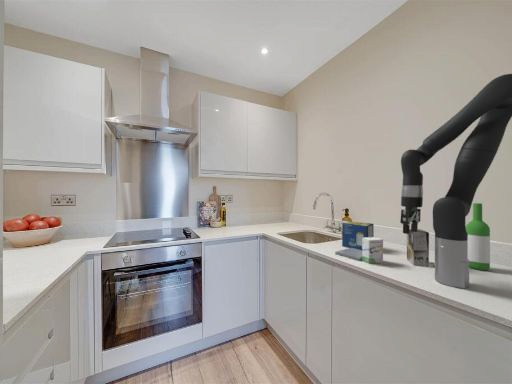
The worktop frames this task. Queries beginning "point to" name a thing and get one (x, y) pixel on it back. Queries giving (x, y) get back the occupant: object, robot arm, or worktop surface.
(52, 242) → the worktop surface
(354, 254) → the plate
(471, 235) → the wine bottle
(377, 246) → the ink box
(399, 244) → the worktop surface
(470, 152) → the robot arm
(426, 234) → the coffee box
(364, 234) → the protein box
